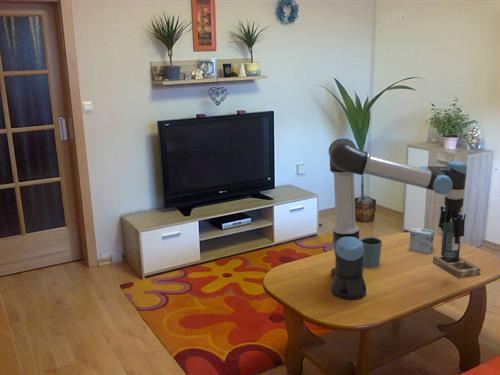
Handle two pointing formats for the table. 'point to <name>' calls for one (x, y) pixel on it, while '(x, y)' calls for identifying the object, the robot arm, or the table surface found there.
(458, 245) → the grey post
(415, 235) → the light bulb box
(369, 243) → the grey cup
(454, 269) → the rectangular frame
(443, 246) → the can
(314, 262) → the table surface
